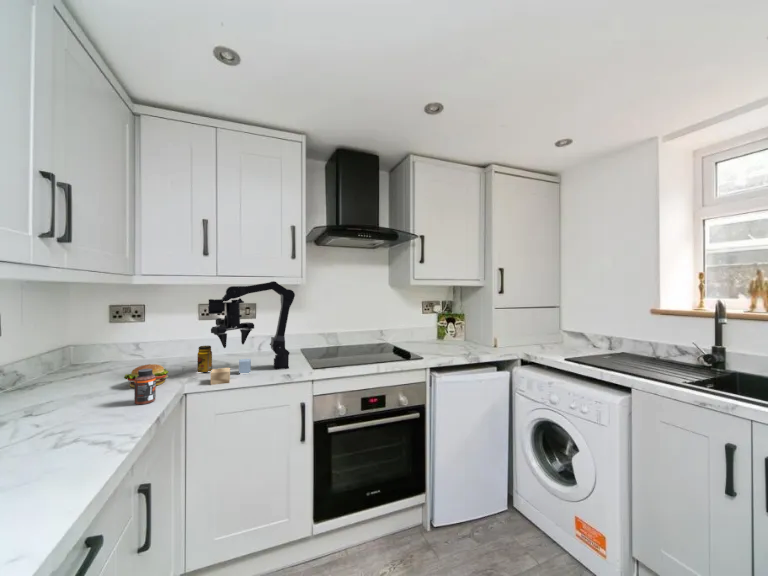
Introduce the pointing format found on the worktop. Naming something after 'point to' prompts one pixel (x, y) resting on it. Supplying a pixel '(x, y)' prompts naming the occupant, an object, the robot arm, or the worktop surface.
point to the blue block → (244, 365)
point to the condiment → (204, 359)
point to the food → (156, 369)
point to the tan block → (220, 376)
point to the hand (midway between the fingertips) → (233, 346)
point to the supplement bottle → (145, 387)
